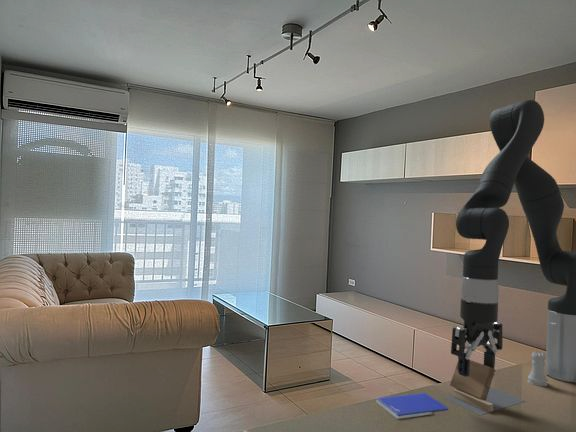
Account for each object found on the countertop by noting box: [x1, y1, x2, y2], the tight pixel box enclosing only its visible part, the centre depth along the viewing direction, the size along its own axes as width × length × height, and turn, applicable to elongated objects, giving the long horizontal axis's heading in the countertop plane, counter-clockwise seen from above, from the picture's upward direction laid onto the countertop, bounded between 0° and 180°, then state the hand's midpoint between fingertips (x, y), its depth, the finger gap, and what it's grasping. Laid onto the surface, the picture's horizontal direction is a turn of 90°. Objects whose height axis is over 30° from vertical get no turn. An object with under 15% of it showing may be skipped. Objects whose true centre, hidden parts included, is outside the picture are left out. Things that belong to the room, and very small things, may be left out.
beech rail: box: [452, 388, 494, 413], centre depth 95 cm, size 1×9×2 cm, turn 30°
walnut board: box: [449, 359, 496, 401], centre depth 98 cm, size 2×8×7 cm, turn 29°
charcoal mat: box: [444, 386, 526, 416], centre depth 97 cm, size 16×9×1 cm, turn 120°
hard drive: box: [375, 392, 449, 420], centre depth 93 cm, size 2×8×12 cm
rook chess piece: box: [527, 350, 548, 387], centre depth 109 cm, size 4×4×8 cm
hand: (476, 372), depth 96 cm, fingers open, 8 cm apart
